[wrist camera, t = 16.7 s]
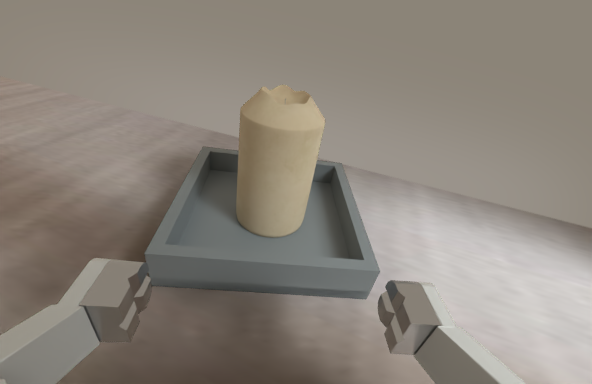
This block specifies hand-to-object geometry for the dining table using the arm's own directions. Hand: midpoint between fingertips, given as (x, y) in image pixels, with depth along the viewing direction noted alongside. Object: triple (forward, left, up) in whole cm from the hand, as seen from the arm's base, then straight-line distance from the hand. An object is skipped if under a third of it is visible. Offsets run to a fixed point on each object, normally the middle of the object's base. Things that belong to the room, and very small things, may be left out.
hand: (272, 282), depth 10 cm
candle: (0, -12, -7) cm, 13 cm away
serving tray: (0, -12, -7) cm, 14 cm away
